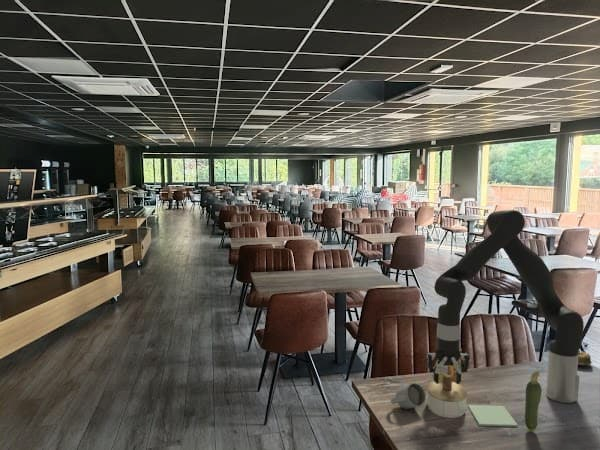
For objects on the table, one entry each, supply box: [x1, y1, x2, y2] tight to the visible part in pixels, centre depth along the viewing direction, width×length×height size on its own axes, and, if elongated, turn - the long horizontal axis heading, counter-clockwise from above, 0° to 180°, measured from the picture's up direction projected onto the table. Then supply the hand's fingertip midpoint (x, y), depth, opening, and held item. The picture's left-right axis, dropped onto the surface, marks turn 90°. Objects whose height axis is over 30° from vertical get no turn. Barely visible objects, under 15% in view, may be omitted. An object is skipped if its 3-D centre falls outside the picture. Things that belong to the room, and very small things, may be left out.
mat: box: [467, 404, 519, 428], centre depth 151 cm, size 12×12×1 cm
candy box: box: [438, 348, 463, 385], centre depth 170 cm, size 9×4×15 cm, turn 129°
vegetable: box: [524, 371, 542, 433], centre depth 142 cm, size 4×4×20 cm
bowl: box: [426, 390, 467, 419], centre depth 156 cm, size 12×12×6 cm
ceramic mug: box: [390, 382, 427, 410], centre depth 155 cm, size 11×8×8 cm
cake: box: [577, 350, 593, 366], centre depth 194 cm, size 10×10×5 cm
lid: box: [426, 375, 468, 402], centre depth 155 cm, size 13×13×6 cm
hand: (446, 382), depth 155 cm, fingers open, 6 cm apart
